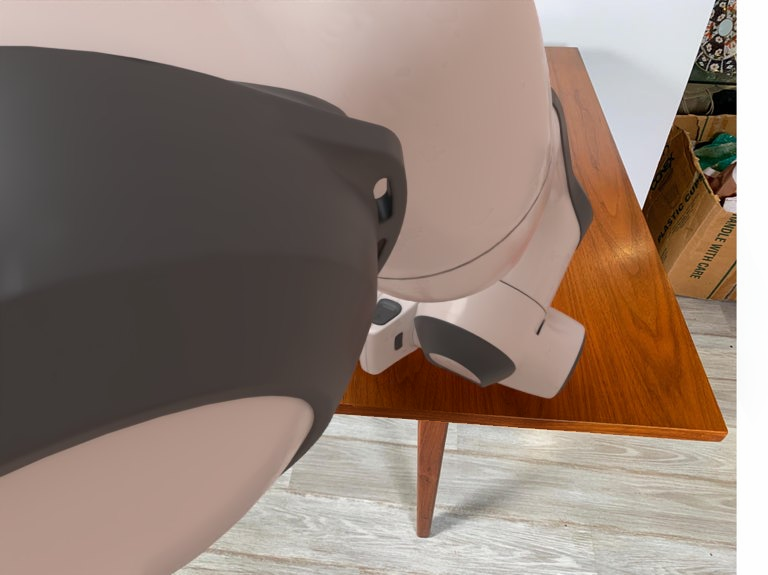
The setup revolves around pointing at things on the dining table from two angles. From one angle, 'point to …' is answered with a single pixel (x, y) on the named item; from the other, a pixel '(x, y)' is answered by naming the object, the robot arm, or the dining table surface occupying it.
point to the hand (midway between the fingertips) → (307, 250)
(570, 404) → the dining table surface
